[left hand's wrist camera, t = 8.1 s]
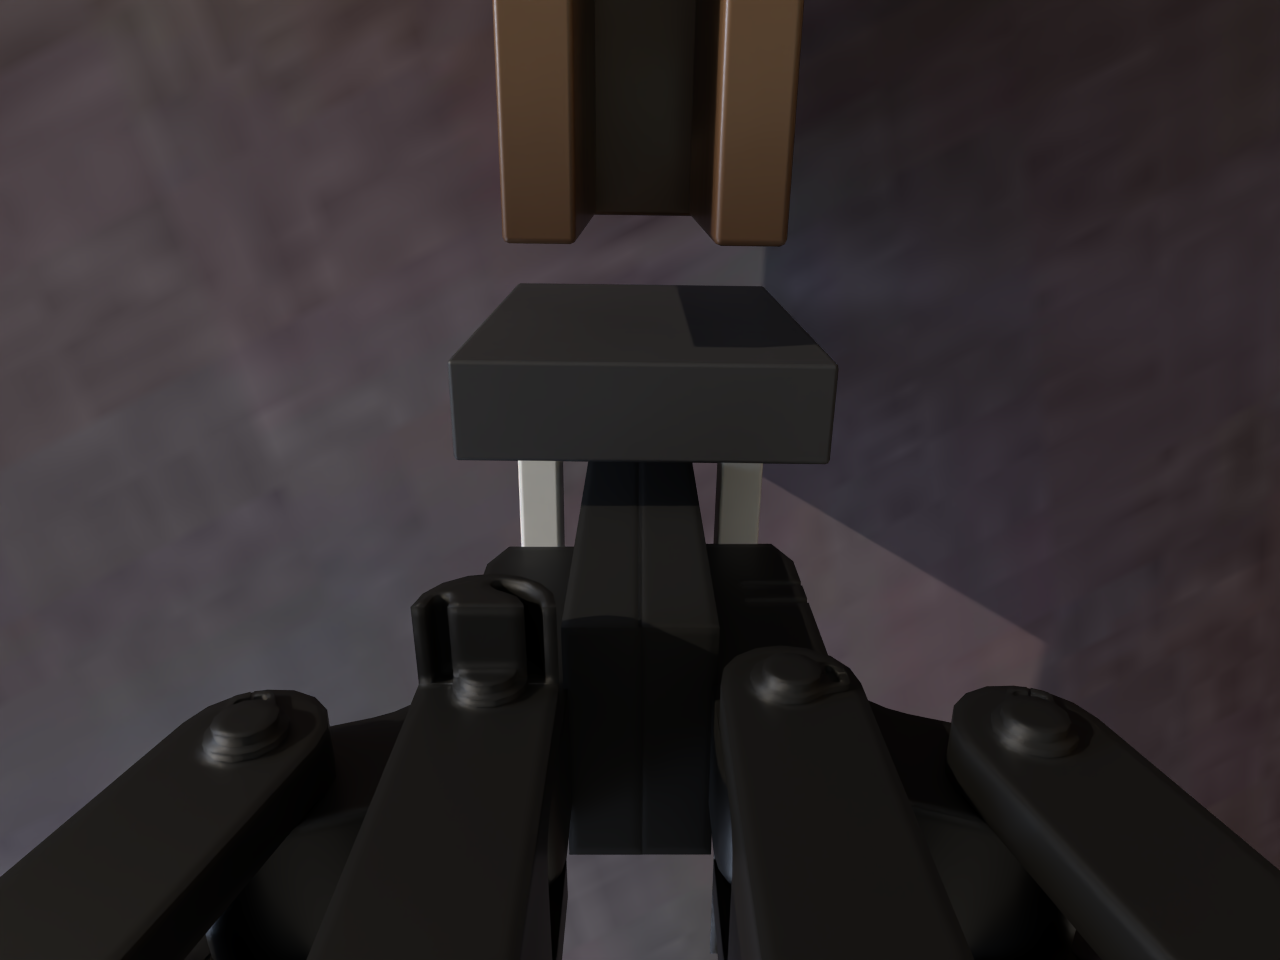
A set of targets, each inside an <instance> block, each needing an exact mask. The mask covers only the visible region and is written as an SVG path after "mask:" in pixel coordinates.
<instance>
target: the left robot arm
mask: <svg viewBox="0 0 1280 960" xmlns="http://www.w3.org/2000/svg"><path fill="white" fill-rule="evenodd" d="M411 615H412V624H413V633H414V642H415V651H416V661H417V670H418V679H419V686H418V688H417V691H416V693H415V696H414V698H413V701H412V703H411V705H409V706H407V707H405V708H402V709H400V710H398V711H395V712H392V713H389V714H385V715H381V716H378V717H374V718H369V719H365V720H360V721H355V722H350V723H345V724H340V725H335V726H330V725H329V719H328V713H327V709H326V708H325V707H324V706H323V705H322V704H321V703H320V702H319V701H318V700H317V699H316V698H315V697H313V696H310V695H307V694H304V693H300V692H297V691H294V690H263V691H254V692H253V693H251V692H248V693H244V694H240V695H236V696H234V697H232V698H229V699H227V700H224V701H222V702H219V703H216V704H214V705H211V706H209V707H207V708H205V709H204V710H202V711H201V712H199V713H198V714H196V715H195V716H193V717H191V718H190V719H188V720H187V721H185V722H184V723H182V724H181V725H180V726H179V727H178V728H177V729H175V730H174V731H173V732H172V733H171V734H169V735H168V736H167V737H166V738H165V739H163V740H162V741H161V742H160V743H159V744H158V745H156V746H155V747H154V748H153V749H152V750H150V751H149V752H148V753H147V754H146V755H145V756H143V757H142V758H141V759H140V760H139V761H137V762H136V763H135V764H134V765H133V766H131V767H130V768H129V769H128V770H127V771H126V772H124V773H123V774H122V775H121V776H120V777H118V778H117V779H116V780H115V781H114V782H113V783H111V784H110V785H109V786H108V787H107V788H105V789H104V790H103V791H102V792H101V793H99V794H98V795H97V796H96V797H95V798H94V799H92V800H91V801H90V802H89V803H88V804H86V805H85V806H84V807H83V808H82V809H81V810H79V811H78V812H77V813H76V814H75V815H73V816H72V817H71V818H70V819H69V820H67V821H66V822H65V823H64V824H63V825H62V826H60V827H59V828H58V829H57V830H56V831H54V832H53V833H52V834H51V835H50V836H49V837H47V838H46V839H45V840H44V841H43V842H41V843H40V844H39V845H38V846H37V847H35V848H34V849H33V850H32V851H31V852H30V853H28V854H27V855H26V856H25V857H24V858H22V859H21V860H20V861H19V862H18V863H17V864H15V865H14V866H13V867H12V868H11V869H9V870H8V871H7V872H6V873H5V874H3V875H2V876H1V877H0V960H562V953H563V942H564V931H565V921H566V910H567V900H568V890H567V865H566V858H567V848H568V839H569V855H642V854H711V838H712V840H713V850H714V865H713V890H712V915H711V940H710V953H718V960H1280V870H1278V869H1277V868H1276V867H1275V866H1274V865H1272V864H1271V863H1270V862H1269V861H1268V860H1266V859H1265V858H1264V857H1263V856H1262V855H1261V854H1259V853H1258V852H1257V851H1256V850H1255V849H1253V848H1252V847H1251V846H1250V845H1249V844H1247V843H1246V842H1245V841H1244V840H1243V839H1241V838H1240V837H1239V836H1238V835H1237V834H1235V833H1234V832H1233V831H1232V830H1231V829H1229V828H1228V827H1227V826H1226V825H1225V824H1223V823H1222V822H1221V821H1220V820H1219V819H1217V818H1216V817H1215V816H1214V815H1213V814H1211V813H1210V812H1209V811H1208V810H1207V809H1206V808H1204V807H1203V806H1202V805H1201V804H1200V803H1198V802H1197V801H1196V800H1195V799H1194V798H1192V797H1191V796H1190V795H1189V794H1188V793H1186V792H1185V791H1184V790H1183V789H1182V788H1180V787H1179V786H1178V785H1177V784H1176V783H1174V782H1173V781H1172V780H1171V779H1170V778H1168V777H1167V776H1166V775H1165V774H1164V773H1162V772H1161V771H1160V770H1159V769H1158V768H1156V767H1155V766H1154V765H1153V764H1152V763H1151V762H1149V761H1148V760H1147V759H1146V758H1145V757H1143V756H1142V755H1141V754H1140V753H1139V752H1137V751H1136V750H1135V749H1134V748H1133V747H1131V746H1130V745H1129V744H1128V743H1127V742H1125V741H1124V740H1123V739H1122V738H1121V737H1119V736H1118V735H1117V734H1116V733H1115V732H1113V731H1112V730H1111V729H1110V728H1109V727H1107V726H1106V725H1105V724H1104V723H1103V722H1101V721H1100V720H1099V719H1098V718H1096V717H1095V716H1093V715H1092V714H1090V713H1088V712H1087V711H1085V710H1084V709H1082V708H1081V707H1079V706H1078V705H1076V704H1075V703H1073V702H1070V701H1068V700H1065V699H1062V698H1060V697H1057V696H1055V695H1052V694H1049V693H1048V692H1045V691H1041V690H1037V689H1033V688H1031V689H1028V688H1027V687H1019V686H987V687H984V688H981V689H978V690H974V691H971V692H968V693H966V694H965V695H964V696H963V697H962V698H961V699H960V700H959V701H958V702H957V703H956V704H955V705H954V708H953V715H952V721H951V723H950V722H945V721H940V720H935V719H930V718H925V717H920V716H915V715H910V714H906V713H902V712H899V711H895V710H891V709H888V708H885V707H882V706H880V705H878V704H875V703H873V702H871V701H868V699H867V697H866V694H865V692H864V689H863V687H862V685H861V683H860V681H859V680H858V679H857V677H856V676H855V675H854V673H853V672H852V671H851V669H850V668H848V667H847V666H845V665H844V664H842V663H841V662H839V661H837V660H836V659H834V658H833V657H831V656H829V655H828V654H827V651H826V648H825V646H824V643H823V640H822V638H821V635H820V632H819V630H818V627H817V624H816V622H815V619H814V616H813V613H812V611H811V608H810V605H809V603H807V597H806V595H805V592H804V589H803V587H802V586H801V581H800V578H799V576H798V573H797V570H796V568H795V565H794V562H793V561H792V560H791V559H790V558H788V557H787V556H786V555H785V554H783V553H782V552H781V551H779V550H778V549H777V548H776V547H774V546H773V545H772V544H706V543H705V537H704V531H703V525H702V519H701V513H700V507H699V501H698V495H697V489H696V483H695V477H694V471H693V465H692V463H684V462H593V461H588V467H587V473H586V479H585V485H584V491H583V497H582V503H581V509H580V515H579V521H578V527H577V533H576V539H575V545H574V547H508V548H507V549H506V550H505V551H503V552H502V553H501V554H500V555H498V556H497V557H496V558H495V559H493V560H492V561H491V562H490V563H488V564H487V567H486V570H485V572H484V575H474V576H466V577H463V578H459V579H456V580H452V581H448V582H445V583H442V584H440V585H438V586H436V587H435V588H433V589H431V590H429V591H427V592H425V593H423V594H422V595H421V596H420V597H419V599H418V600H417V601H416V602H415V603H414V604H413V605H412V606H411Z"/></svg>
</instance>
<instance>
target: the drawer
mask: <svg viewBox="0 0 1280 960" xmlns="http://www.w3.org/2000/svg"><path fill="white" fill-rule="evenodd" d="M803 9H804V0H493V22H494V45H495V69H496V92H497V116H498V139H499V163H500V187H501V210H502V234H503V239H504V241H505V242H508V243H540V244H571V243H573V242H575V241H576V239H577V238H578V236H579V235H580V234H581V232H582V231H583V229H584V228H585V227H586V225H587V224H588V222H589V221H590V220H591V218H592V217H593V216H594V215H663V216H692V217H693V218H694V219H695V220H696V222H697V223H698V224H699V225H700V226H701V227H702V228H703V230H704V231H705V232H706V233H707V234H708V235H709V236H710V237H711V239H712V240H713V241H714V242H715V243H716V244H718V245H720V246H782V245H784V244H785V242H786V240H787V233H788V219H789V205H790V191H791V177H792V163H793V149H794V135H795V121H796V107H797V93H798V79H799V65H800V51H801V37H802V23H803ZM838 369H839V368H838V365H837V364H836V363H835V362H834V361H833V360H832V359H831V358H830V357H829V356H828V355H827V354H826V353H825V351H824V350H823V349H822V348H821V347H820V346H819V345H818V344H817V343H816V342H815V341H814V340H813V339H812V338H811V337H810V336H809V335H808V334H807V333H806V331H805V330H804V329H803V328H802V327H801V326H800V325H799V324H798V323H797V322H796V321H795V320H794V319H793V318H792V317H791V316H790V315H789V314H788V313H787V312H786V310H785V309H784V308H783V307H782V306H781V305H780V304H779V303H778V302H777V301H776V300H775V299H774V298H773V297H772V296H771V295H770V294H769V293H768V292H767V291H766V289H765V288H764V287H762V286H687V285H607V284H528V283H520V284H518V285H517V286H516V288H515V289H514V290H513V291H512V292H511V293H510V294H509V295H508V296H507V297H506V299H505V300H504V301H503V302H502V303H501V304H500V305H499V306H498V307H497V308H496V309H495V311H494V312H493V313H492V314H491V315H490V316H489V317H488V318H487V319H486V320H485V321H484V323H483V324H482V325H481V326H480V327H479V328H478V329H477V330H476V331H475V332H474V333H473V335H472V336H471V337H470V338H469V339H468V340H467V341H466V342H465V343H464V344H463V346H462V347H461V348H460V349H459V350H458V351H457V352H456V353H455V354H454V355H453V356H452V358H451V359H450V360H449V361H448V376H449V391H450V406H451V421H452V435H453V450H454V457H455V459H457V460H503V461H518V470H519V496H520V521H521V546H522V547H565V540H564V491H563V461H593V462H684V463H717V483H716V504H715V525H714V544H758V529H759V515H760V500H761V485H762V470H763V463H775V464H827V463H828V462H829V460H830V452H831V441H832V431H833V421H834V410H835V400H836V390H837V379H838Z"/></svg>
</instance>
